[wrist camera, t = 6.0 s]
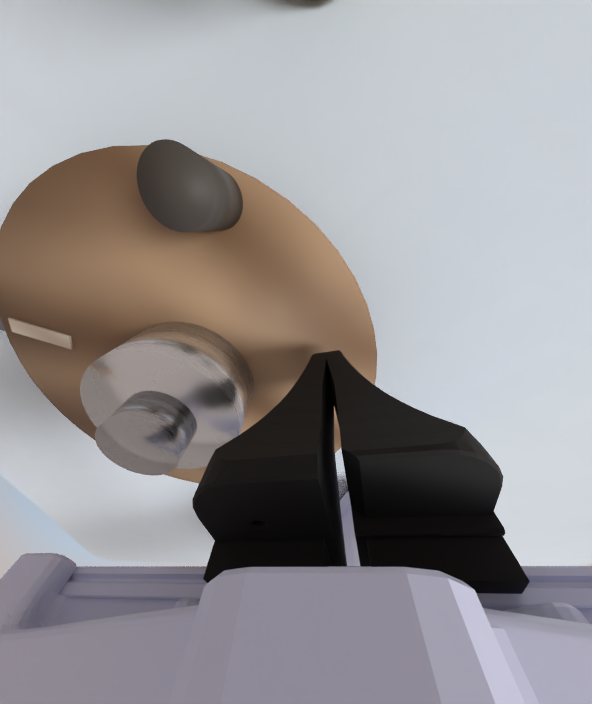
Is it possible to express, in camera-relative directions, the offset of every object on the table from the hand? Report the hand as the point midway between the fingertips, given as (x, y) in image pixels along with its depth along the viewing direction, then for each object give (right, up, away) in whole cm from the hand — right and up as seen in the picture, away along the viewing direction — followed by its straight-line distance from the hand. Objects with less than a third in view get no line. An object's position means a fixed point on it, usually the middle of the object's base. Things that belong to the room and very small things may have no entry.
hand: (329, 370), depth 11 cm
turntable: (-7, 0, +3) cm, 8 cm away
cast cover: (-7, -1, +2) cm, 8 cm away
